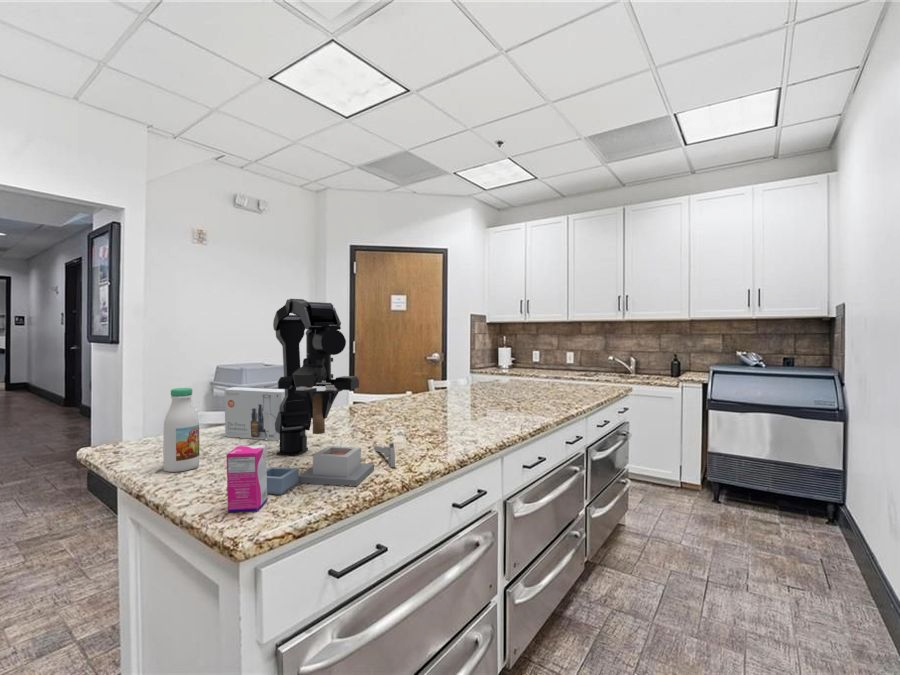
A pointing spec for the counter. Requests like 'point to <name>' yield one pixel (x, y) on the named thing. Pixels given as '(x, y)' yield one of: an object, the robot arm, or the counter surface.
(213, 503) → the counter surface
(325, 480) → the grey square holder
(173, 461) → the milk bottle
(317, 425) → the brown wooden cylinder
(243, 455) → the supplement box
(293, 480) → the blue square tray
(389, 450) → the caliper
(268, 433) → the skincare box
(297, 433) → the robot arm
